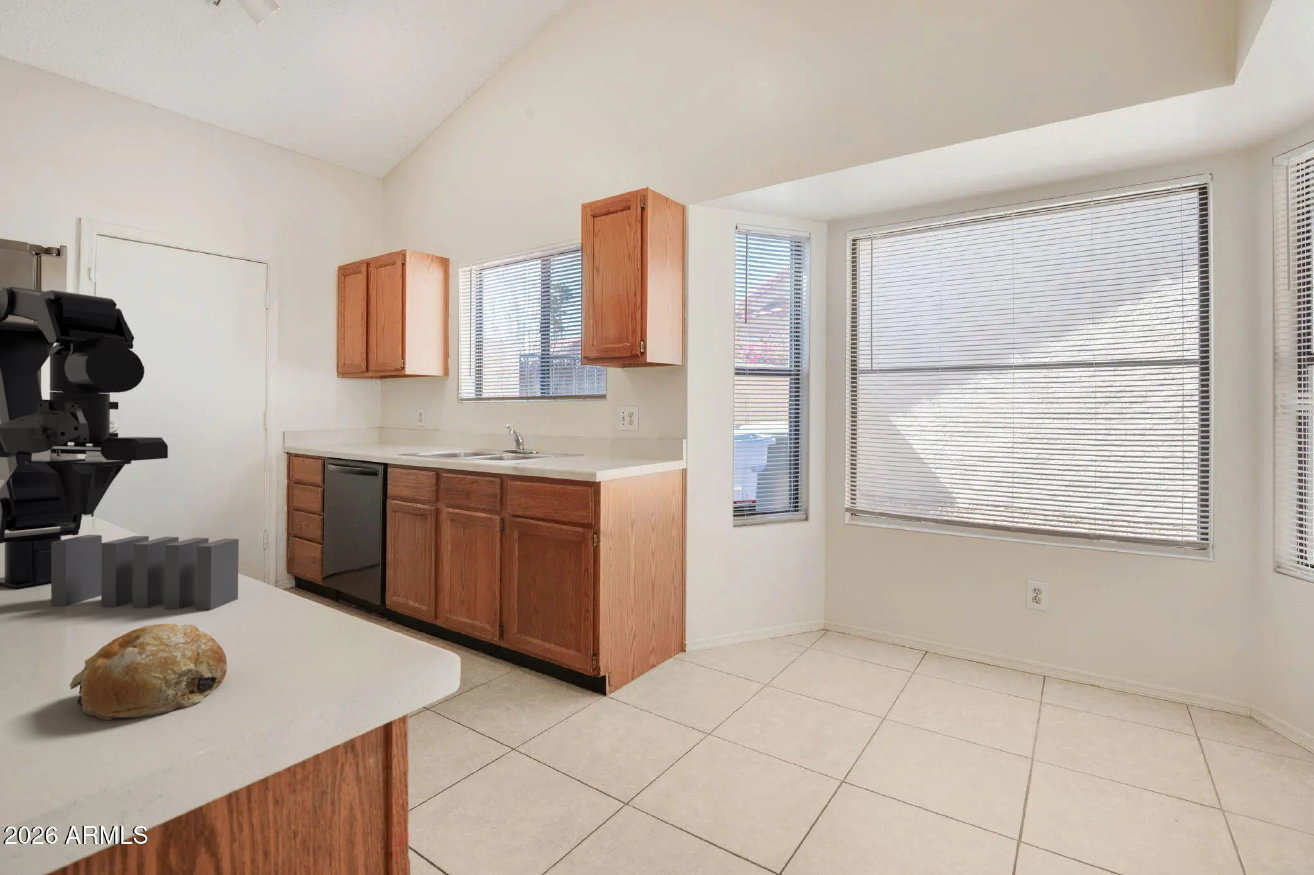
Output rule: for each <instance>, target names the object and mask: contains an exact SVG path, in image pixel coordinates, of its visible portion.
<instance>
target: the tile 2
mask: <svg viewBox="0 0 1314 875" xmlns="http://www.w3.org/2000/svg"><path fill="white" fill-rule="evenodd" d="M148 540H150V535H133V536H128V537H124V538H118V539H113V540H109V541H104V542H102V574H101V596H100V597H101V599H100V600H101V601H100V602H101V606H100V607H101V608H118V607H120V606H123V605H126V604H129V603H133V544H135V543H140V542H144V541H148Z"/></svg>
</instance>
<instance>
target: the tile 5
mask: <svg viewBox="0 0 1314 875" xmlns="http://www.w3.org/2000/svg"><path fill="white" fill-rule="evenodd" d="M239 540H240V539H239V538H227V537H226V538H222V539H218V540H213V541H209V543H206V544H202V545H199V546H197V595H196V603H195V605H196V607H195V608H196V609H195V610H196V611H213V610H215V609H217V608H220V607H222V606H224V605H227V604H229V603H231V602H234V601H237V600H239Z"/></svg>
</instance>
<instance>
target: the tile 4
mask: <svg viewBox="0 0 1314 875" xmlns="http://www.w3.org/2000/svg"><path fill="white" fill-rule="evenodd" d="M209 539H210V538H209V537H192V538H188V539H184V540H179V542H175V543H171V544H167V545H165V602H164V610H181V609H184V608H185V607H188V606H192V605H194V604H196V595H197V546H199V545H202V544H206V543H210V541H209Z"/></svg>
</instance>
